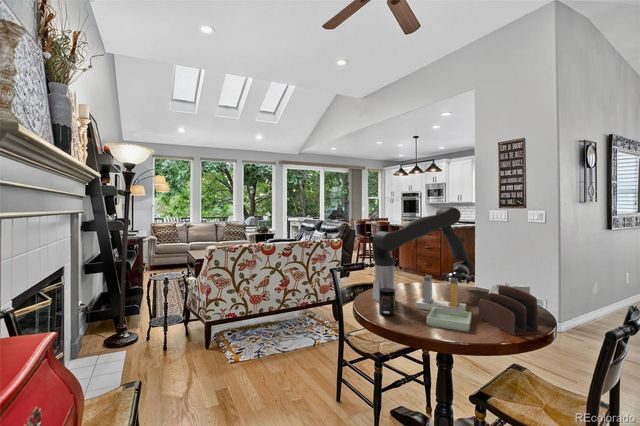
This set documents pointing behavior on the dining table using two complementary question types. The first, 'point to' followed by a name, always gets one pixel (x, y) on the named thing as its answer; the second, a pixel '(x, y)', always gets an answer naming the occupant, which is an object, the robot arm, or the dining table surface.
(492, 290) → the cat figurine
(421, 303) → the block
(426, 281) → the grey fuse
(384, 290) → the supplement container
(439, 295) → the dining table surface
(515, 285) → the supplement box
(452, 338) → the dining table surface
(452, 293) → the yellow grey long block
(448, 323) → the tray
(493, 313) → the letter holder
